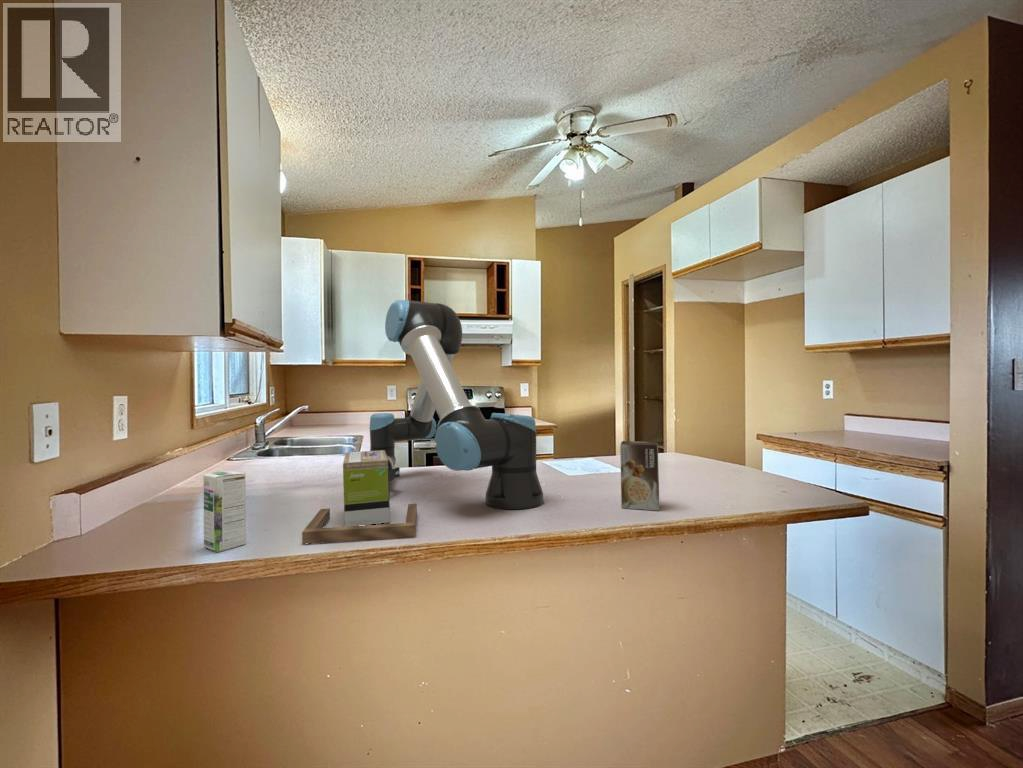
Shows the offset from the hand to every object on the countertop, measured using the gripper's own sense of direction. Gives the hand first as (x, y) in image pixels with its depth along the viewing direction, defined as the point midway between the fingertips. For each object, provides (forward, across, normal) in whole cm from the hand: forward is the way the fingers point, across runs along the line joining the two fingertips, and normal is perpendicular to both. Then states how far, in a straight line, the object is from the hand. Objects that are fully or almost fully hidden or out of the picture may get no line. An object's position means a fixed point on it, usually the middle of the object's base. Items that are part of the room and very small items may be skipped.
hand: (370, 485), depth 124 cm
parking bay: (+16, -1, -6) cm, 17 cm away
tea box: (+8, 0, -6) cm, 10 cm away
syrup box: (+23, +25, -6) cm, 35 cm away
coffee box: (+13, -67, -6) cm, 68 cm away
